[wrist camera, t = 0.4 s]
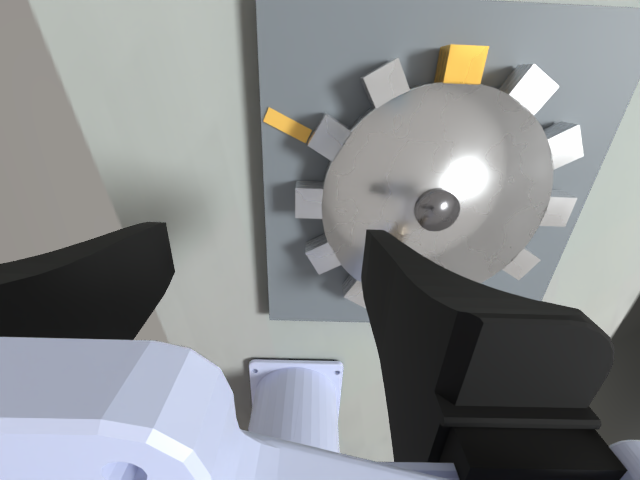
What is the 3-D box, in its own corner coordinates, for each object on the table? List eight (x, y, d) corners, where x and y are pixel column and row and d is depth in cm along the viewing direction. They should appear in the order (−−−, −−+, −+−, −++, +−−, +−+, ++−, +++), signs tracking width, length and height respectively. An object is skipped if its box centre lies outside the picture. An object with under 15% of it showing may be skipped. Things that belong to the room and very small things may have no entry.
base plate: (522, 317, 25) (530, 327, 24) (271, 311, 25) (269, 320, 24) (651, 13, 16) (672, 8, 15) (258, -7, 16) (254, -12, 15)
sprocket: (514, 306, 23) (559, 359, 19) (296, 301, 23) (291, 353, 19) (614, 55, 16) (725, 46, 12) (297, 40, 16) (289, 25, 11)
